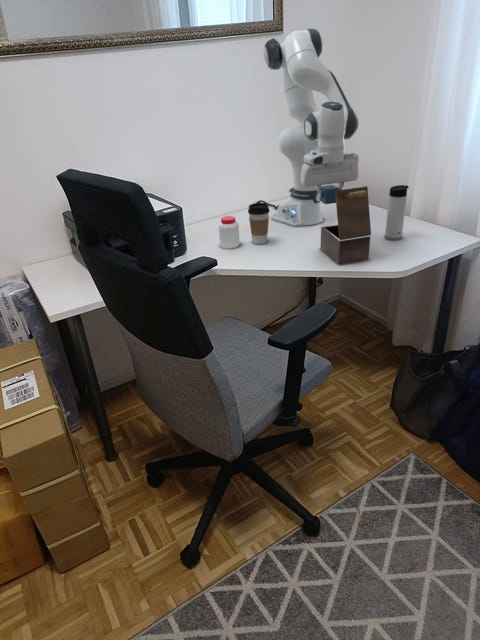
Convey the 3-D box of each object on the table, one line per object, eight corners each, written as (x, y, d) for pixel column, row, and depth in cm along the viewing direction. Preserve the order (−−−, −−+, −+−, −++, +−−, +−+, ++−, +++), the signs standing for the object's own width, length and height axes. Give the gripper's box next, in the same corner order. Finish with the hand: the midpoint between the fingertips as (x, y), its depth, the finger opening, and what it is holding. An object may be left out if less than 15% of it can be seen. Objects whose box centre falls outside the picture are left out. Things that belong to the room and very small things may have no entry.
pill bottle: (232, 249, 189) (231, 222, 184) (216, 246, 193) (214, 219, 187) (243, 243, 195) (242, 216, 189) (227, 240, 198) (225, 213, 193)
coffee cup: (246, 244, 193) (244, 207, 185) (253, 237, 200) (251, 200, 192) (266, 246, 190) (265, 208, 183) (273, 238, 197) (272, 201, 190)
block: (325, 204, 170) (325, 190, 167) (319, 200, 174) (319, 186, 172) (338, 202, 171) (339, 188, 168) (332, 198, 175) (333, 184, 173)
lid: (334, 190, 164) (341, 189, 159) (366, 186, 167) (373, 185, 162) (339, 239, 168) (345, 240, 163) (370, 235, 170) (377, 235, 165)
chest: (320, 249, 185) (321, 226, 181) (348, 244, 187) (349, 222, 183) (338, 264, 172) (339, 241, 168) (368, 259, 174) (370, 236, 170)
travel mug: (403, 240, 188) (409, 188, 178) (385, 240, 189) (390, 188, 179) (401, 234, 193) (408, 183, 183) (384, 234, 195) (389, 183, 185)
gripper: (354, 150, 169) (352, 190, 176) (299, 156, 165) (298, 197, 172) (363, 153, 164) (360, 194, 171) (306, 160, 160) (305, 202, 167)
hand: (329, 196), depth 172 cm, fingers closed on block, 5 cm apart
